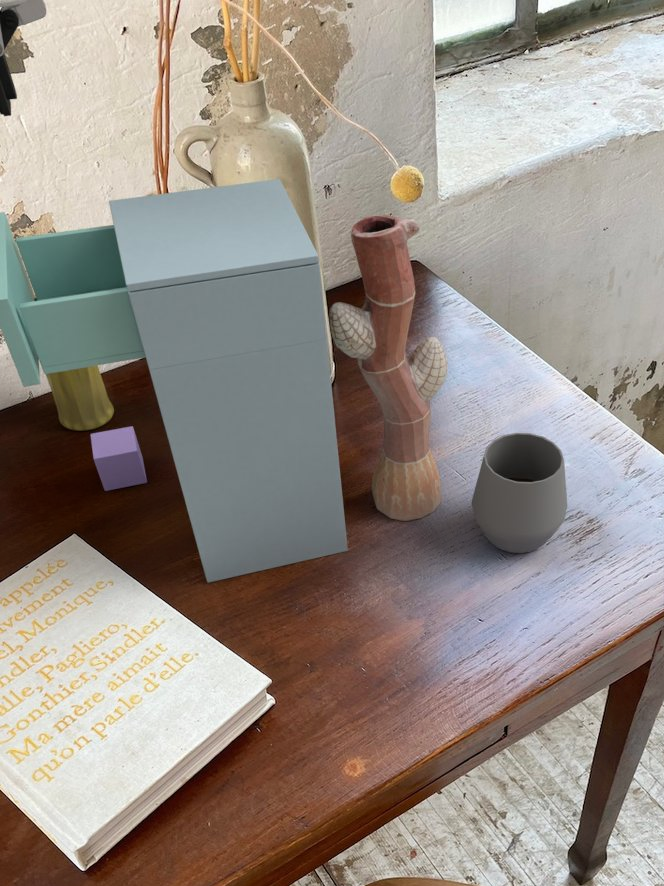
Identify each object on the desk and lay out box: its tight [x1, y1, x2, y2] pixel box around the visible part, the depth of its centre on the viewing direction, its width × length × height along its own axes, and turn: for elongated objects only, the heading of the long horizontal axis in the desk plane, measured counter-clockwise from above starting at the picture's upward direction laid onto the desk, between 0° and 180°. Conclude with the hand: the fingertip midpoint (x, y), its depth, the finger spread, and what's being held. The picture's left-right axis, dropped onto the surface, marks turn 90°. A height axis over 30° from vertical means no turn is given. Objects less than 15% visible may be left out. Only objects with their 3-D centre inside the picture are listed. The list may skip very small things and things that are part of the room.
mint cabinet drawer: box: [0, 211, 146, 388], centre depth 70 cm, size 19×14×7 cm
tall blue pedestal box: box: [108, 178, 349, 584], centre depth 82 cm, size 14×14×31 cm
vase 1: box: [34, 294, 115, 432], centre depth 99 cm, size 6×6×14 cm
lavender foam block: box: [90, 425, 148, 492], centre depth 96 cm, size 4×4×4 cm
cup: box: [471, 432, 568, 554], centre depth 89 cm, size 10×9×10 cm
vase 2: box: [328, 214, 448, 522], centre depth 85 cm, size 10×7×30 cm
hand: (0, 109), depth 70 cm, fingers closed
